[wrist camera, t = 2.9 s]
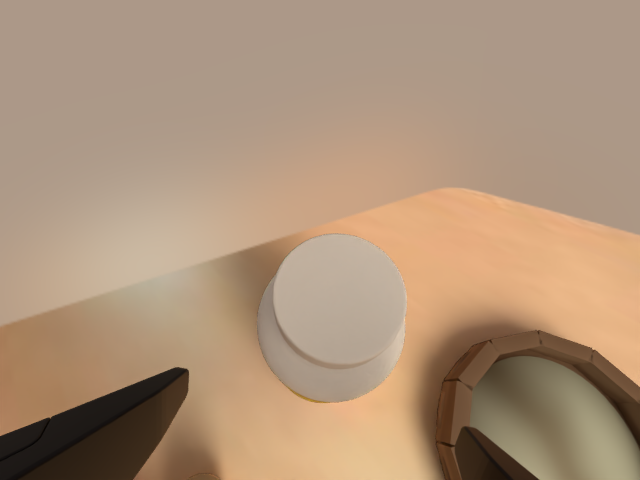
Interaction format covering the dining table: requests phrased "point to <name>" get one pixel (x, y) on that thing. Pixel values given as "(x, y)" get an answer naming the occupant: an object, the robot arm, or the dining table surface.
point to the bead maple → (204, 477)
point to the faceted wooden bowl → (543, 408)
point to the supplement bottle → (333, 318)
